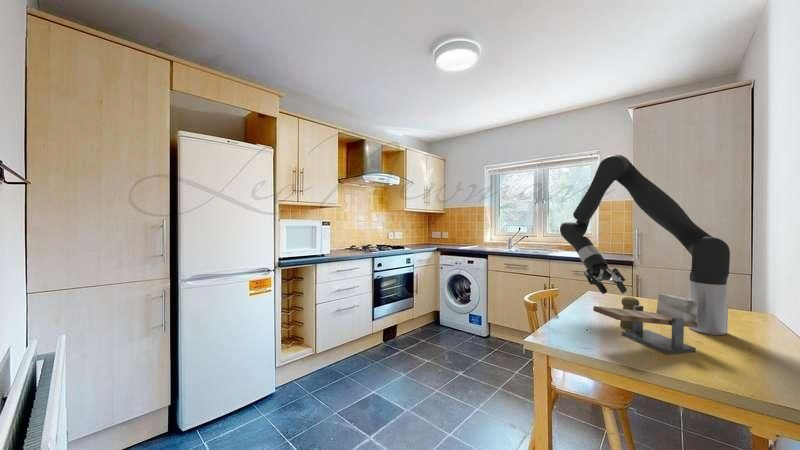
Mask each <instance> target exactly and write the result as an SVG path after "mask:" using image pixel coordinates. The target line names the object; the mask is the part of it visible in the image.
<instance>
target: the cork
mask: <svg viewBox="0 0 800 450" xmlns="http://www.w3.org/2000/svg"><path fill="white" fill-rule="evenodd" d="M621 305H622V309H626V310H633V306H639V305H640V300H639V299H638V298H636V297H632V296H624V297H622V298H621ZM619 327H620V328H621V329H624V330H626V331H633V321H624V320H620V323H619Z"/></svg>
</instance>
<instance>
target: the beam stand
mask: <svg viewBox="0 0 800 450" xmlns="http://www.w3.org/2000/svg"><path fill="white" fill-rule="evenodd" d="M633 310H636V311H640V310H641V311H644V305H640V304H639V306H633ZM684 333H685V327H684V318H681V317H677V318H672V326H671V338H670V337H667V336H665V335H663V334H659V333H657V332H654V331H651V330H650V329H644V322H634V321H633V330H623V331H621V335H622V336H623V337H626V338H628V339H630V340H633V341H635V342H637V343H640V344H641V345H645V346H646V347H649V348H652V349H654V350H656V351H658V352H661V353H664V354H665V355H676V354H677V355H679V354H687V353H688V354H689V353H696V350H697V347H694V346H692V345H689V344H687V343H684V335H685V334H684Z"/></svg>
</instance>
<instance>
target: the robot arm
mask: <svg viewBox="0 0 800 450" xmlns="http://www.w3.org/2000/svg"><path fill="white" fill-rule="evenodd" d="M615 181H616V182H617V183H619V184H620V185H621V186H623V187H624V188H625V190H627V192H628V193H629V195H630V196H631V198H632V199H633V201H634V202H635V204H636V205H637V206H638V207H639V209H640V210H641V211H643V212H644V213H645V214H646V215H647V216H648V217H649V218H650V219H652V221H654V222H655V223H656V224H658V225H659V226H660V227H662V228H663V229H665V230H666V232H667V231H668V232H669V233H670V234H671V235H672V236H674V238H676V239H677V241H679V243H680V244H681V245H682V246H683V247H684V248H685V249H686V251H687V252H688V253H689V254H690V255H691V270H690V272H689V290H688V291H689V292H688V293H689V297H688V299H690V300H694V301H698V308H697V315H696V323H697V328H695V327H688V329H690V330H692V331H695V332H698V333H701V334H708V335H713V336H725V335H726V334H727V333H728V324H729V323H728V320H729V318H728V316H729V315H728V314H729V312H728V311H729V307H728V305H727V296H728V295H727V293H728V291H727V289H728V288H727V287H728V277H729V276H730V266H731V265H730V263H731V262H730V261H731V251H730V250H731V249H730V247H729V245H728V244H727V243H726V242H725V241H724V240H722V239H720V238H718V237H714V236H712V235H711V234H709V233H708V232H706V231H705V230H704V229H702V228H701V227H699V225H697V224H696V223H695V222H694V221H693V220H692V219H691V217H690V216H688V214H687V213H686V212H685V209H683V208H682V207H681V206H680V205H679V204H678V203H677V202H676V200H675V199H673V198H672V197H671V196H669V195H668V194H667V192H665V191H663V189H661V188H660V187H659V186H657V185H656V184H655V183H653V182H652V181H651V180H650V179H648V178H647V177H646V176H644V175H643V174H642V173H641V172H640V171H639V169H637V168H636V166H634V164H632V162H631V161H630V160H629V159H628V158H627V157H626V156H625V155H622V154H613V155H609V156H606V157H605V158H603V159H601V161H600V162H599V164H598V167H597V169H596V171H595V175H594V176H593V179H592V182H591V183H590V186H589V187H588V189H587V190H586V192H585V194H584V195H583V198H581V200H580V201H579V203H578V205H577V206H576V208H575V210H574V211H573V213H572V216H573V218H574V219H575V220H576V221H575V222H572V221H565V222H563V223H561V224H560V226H559V233H560V235H561V236H562V238H563V239H565V241H566V242H567V243H568V244H569V245H571V246H572V247H573V249H574V250H575V252H576V253H577V255H578V257H579V259H580V261H581V262H582V263H583V265H584V266H585V268H586V270H585V271H583V274H584V276H585V278H586V280H587V281H588V283H589V284H590V285H591V286H592V285H594V286H595V287H597V289H598V290H599V292H600V293H601V294H603V295H605V294H607V292H608V290H607V288H606V286H605V284H604V283H603V282H602V281H608V282H610V283H612V284H615V285H616V287H617V288H618V290H619V292H621V294H626V293H627V291H628V289H627V288H626V286H625V284H624V282H625V281H626V279H625V277H624V276H623V275H622V273H621V272H620V270H618V268H616V267H615V268H613V269H610V268H609V267H608V263H607V260H606V259H605V258H604V256H603V255H602V253H600V251H599V249H597V247H596V246H595V245H594V243H593V242H592V240H590V238H589V237H587V236H585V235H586V233H587V231H588V227H589V224H590V220H591V218H592V217H593V216H594V214H595V213H596V212H597V211H598V208H599V206H600V204H601V202H602V200H603V197H604V195H605V194H606V192H607V190H608V189H609V188H610V186H612V184H613V183H614V182H615Z"/></svg>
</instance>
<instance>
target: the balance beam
mask: <svg viewBox="0 0 800 450" xmlns="http://www.w3.org/2000/svg"><path fill="white" fill-rule="evenodd" d="M657 298H658V299H657V307H656V312H652V311H644V310H643V311H641V310H640V311H636V310H626V309H623V308H616V307H606V306H596V305H593V309H592V311H593V312H596V313H598V314H600V315H603V316H607V317H608V318H612V319H614V320H617V321H621V320H624V321H634V322H643V324H644V323H645V324H654V325H655V324H656V325H667V326H671V327H672V318H677V317H681V318H684V328H685V327H686V328H689V327H695V328H697V323H696V315H697V308H698V301H694V300H690V299H689V298H685V297H680V296H677V295H671V294H663V293H658V297H657Z"/></svg>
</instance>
